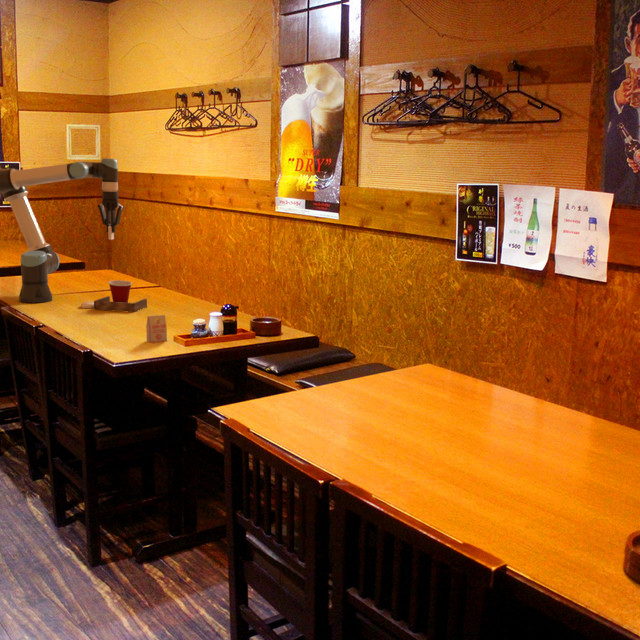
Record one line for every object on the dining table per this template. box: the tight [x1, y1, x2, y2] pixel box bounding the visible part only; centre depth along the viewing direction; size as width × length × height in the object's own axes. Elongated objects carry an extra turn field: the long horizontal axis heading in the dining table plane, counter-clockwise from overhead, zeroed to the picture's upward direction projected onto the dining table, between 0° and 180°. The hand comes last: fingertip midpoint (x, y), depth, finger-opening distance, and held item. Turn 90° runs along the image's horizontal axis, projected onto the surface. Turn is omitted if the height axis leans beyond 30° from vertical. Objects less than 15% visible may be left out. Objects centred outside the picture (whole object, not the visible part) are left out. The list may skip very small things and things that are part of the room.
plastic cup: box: [107, 279, 133, 303], centre depth 354 cm, size 11×11×12 cm
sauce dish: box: [80, 301, 94, 309], centre depth 354 cm, size 8×8×2 cm
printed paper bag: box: [145, 314, 168, 344], centre depth 291 cm, size 4×7×10 cm, turn 120°
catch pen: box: [93, 295, 148, 313], centre depth 352 cm, size 20×13×4 cm, turn 77°
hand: (111, 239), depth 374 cm, fingers closed
